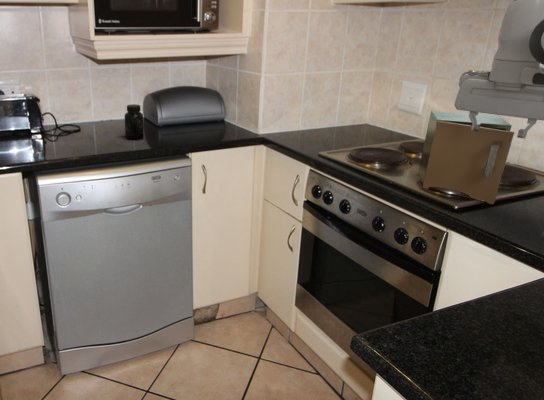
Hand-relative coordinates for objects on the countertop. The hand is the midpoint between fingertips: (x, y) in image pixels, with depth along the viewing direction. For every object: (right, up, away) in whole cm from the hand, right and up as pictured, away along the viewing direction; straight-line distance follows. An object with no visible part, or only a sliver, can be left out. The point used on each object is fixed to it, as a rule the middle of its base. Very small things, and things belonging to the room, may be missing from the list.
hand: (497, 134), depth 111 cm
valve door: (-3, -15, +13) cm, 20 cm away
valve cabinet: (+3, -11, +24) cm, 26 cm away
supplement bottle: (-92, +7, +65) cm, 113 cm away
